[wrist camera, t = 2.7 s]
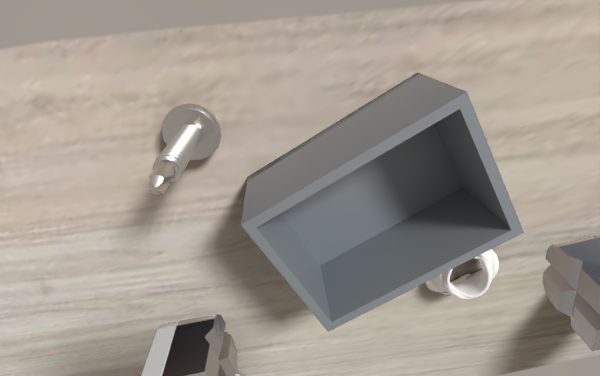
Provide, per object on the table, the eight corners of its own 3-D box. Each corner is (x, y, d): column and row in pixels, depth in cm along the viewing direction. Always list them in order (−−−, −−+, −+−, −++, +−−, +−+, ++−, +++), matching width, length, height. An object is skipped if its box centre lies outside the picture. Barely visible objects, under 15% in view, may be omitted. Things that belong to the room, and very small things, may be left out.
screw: (190, 161, 34) (156, 117, 32) (234, 135, 34) (201, 88, 32) (149, 237, 23) (91, 175, 21) (214, 199, 22) (161, 131, 20)
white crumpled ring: (432, 290, 45) (448, 324, 40) (408, 256, 41) (423, 289, 37) (496, 259, 42) (520, 291, 38) (476, 221, 39) (500, 252, 35)
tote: (316, 268, 41) (328, 331, 32) (247, 176, 35) (240, 225, 27) (468, 185, 38) (523, 232, 29) (417, 72, 32) (466, 91, 24)
